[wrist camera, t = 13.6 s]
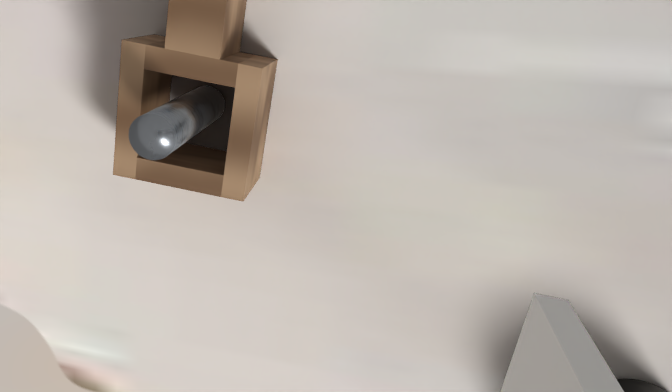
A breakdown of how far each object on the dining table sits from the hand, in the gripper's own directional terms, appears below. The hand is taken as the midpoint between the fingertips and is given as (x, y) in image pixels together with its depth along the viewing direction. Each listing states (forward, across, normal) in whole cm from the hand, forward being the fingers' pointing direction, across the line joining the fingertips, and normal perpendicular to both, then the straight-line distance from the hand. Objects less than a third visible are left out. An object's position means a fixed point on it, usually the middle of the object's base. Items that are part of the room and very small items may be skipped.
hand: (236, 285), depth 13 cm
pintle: (+27, -8, -2) cm, 28 cm away
